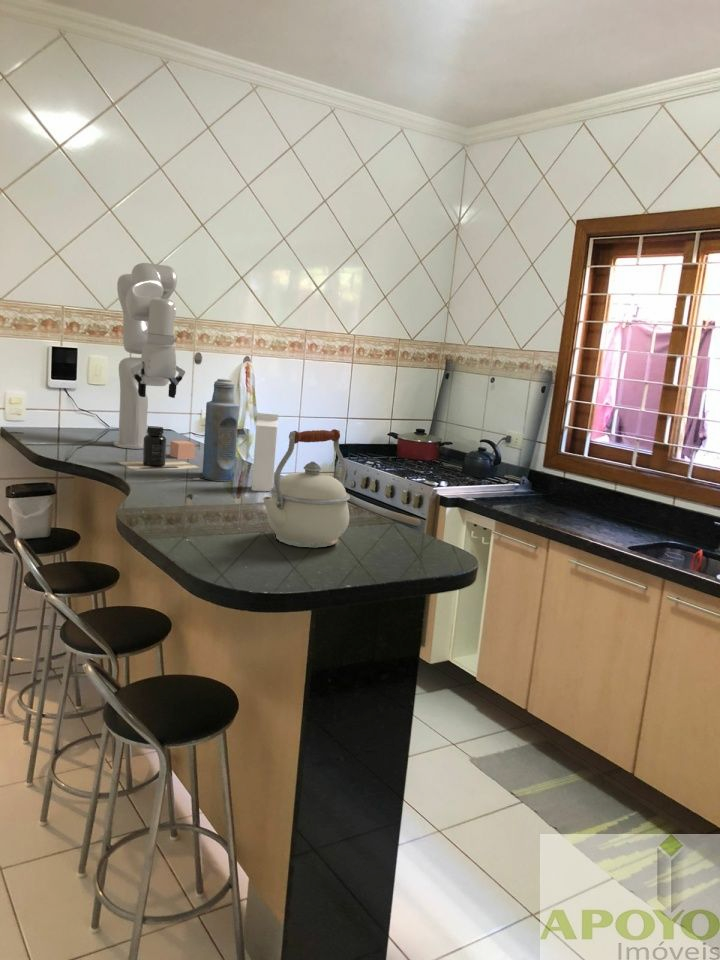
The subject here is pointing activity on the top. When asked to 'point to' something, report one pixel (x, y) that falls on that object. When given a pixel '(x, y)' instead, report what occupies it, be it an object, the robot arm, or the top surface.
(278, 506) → the kettle
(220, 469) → the bottle
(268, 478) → the milk
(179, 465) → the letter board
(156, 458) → the supplement bottle
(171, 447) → the terracotta block
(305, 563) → the top surface
